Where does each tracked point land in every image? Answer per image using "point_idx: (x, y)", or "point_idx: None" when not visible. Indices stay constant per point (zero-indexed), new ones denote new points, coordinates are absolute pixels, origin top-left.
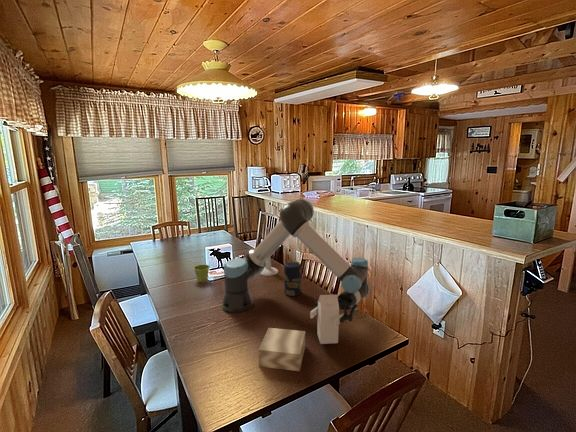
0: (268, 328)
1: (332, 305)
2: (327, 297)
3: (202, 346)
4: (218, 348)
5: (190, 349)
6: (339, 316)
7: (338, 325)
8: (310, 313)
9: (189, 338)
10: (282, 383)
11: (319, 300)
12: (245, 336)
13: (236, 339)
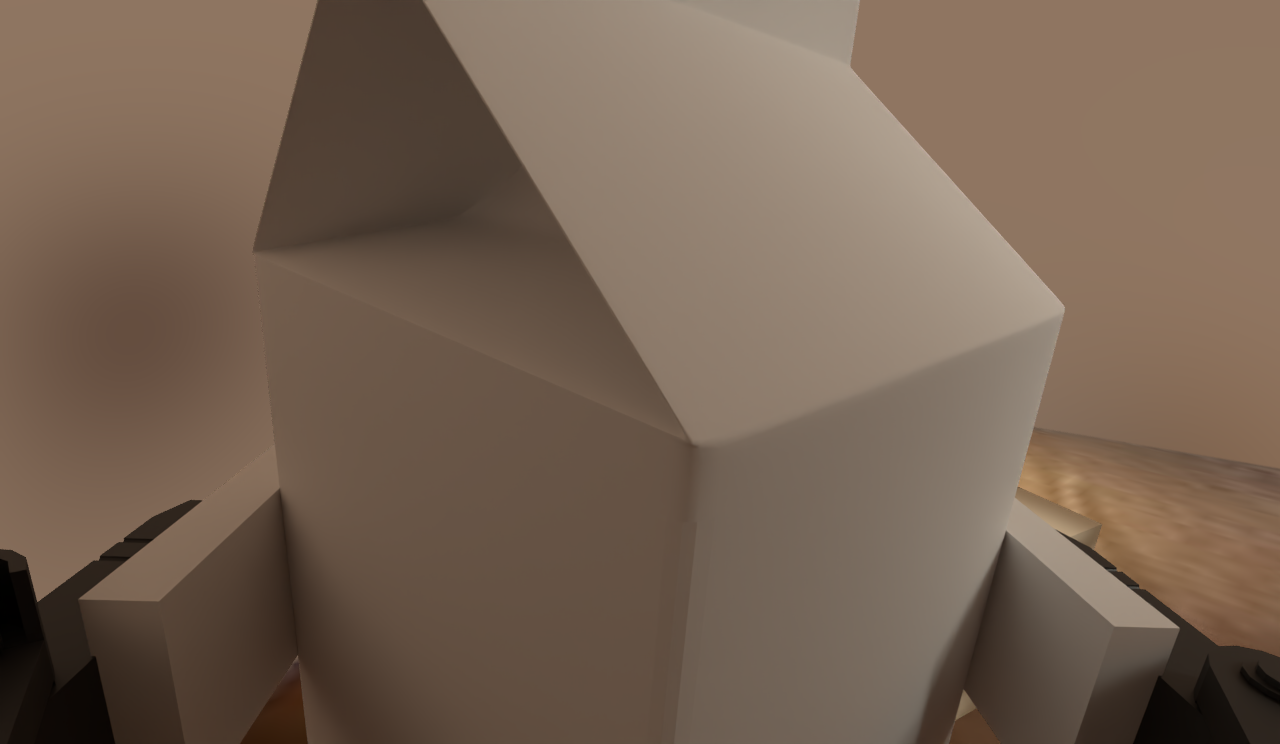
0: (1085, 518)
1: (476, 193)
2: (705, 9)
3: (1146, 487)
4: (1095, 503)
5: (1129, 464)
6: (261, 470)
7: (309, 720)
8: None
9: (1265, 495)
10: None
11: (997, 261)
12: (1236, 630)
13: (1193, 582)
